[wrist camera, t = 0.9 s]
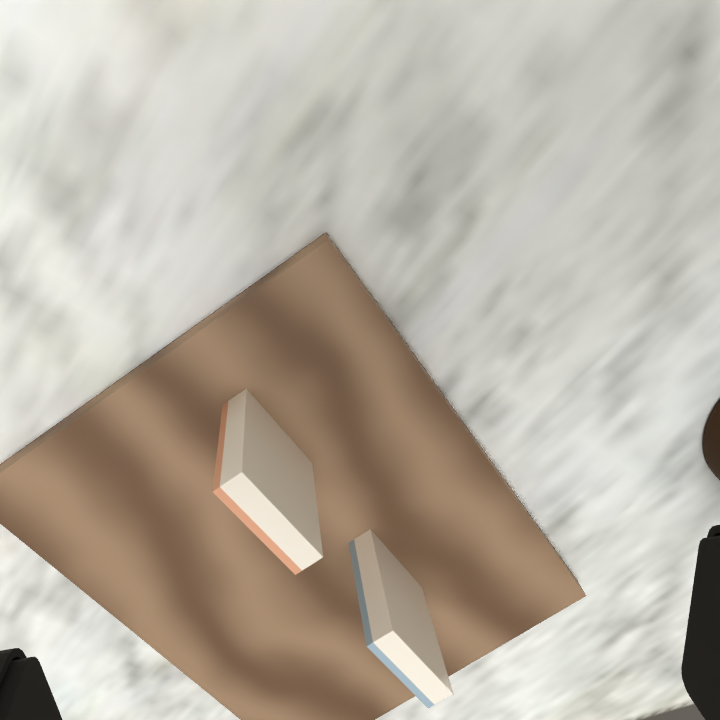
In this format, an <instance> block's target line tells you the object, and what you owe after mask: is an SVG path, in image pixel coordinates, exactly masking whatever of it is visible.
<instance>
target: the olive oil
mask: <svg viewBox="0 0 720 720" xmlns="http://www.w3.org/2000/svg"><path fill="white" fill-rule="evenodd" d="M703 449H704V455H705V459H706V462H707V464H708V466H709V467H710V469H711V471H712V472H713V473H714V474H715V476H716V477H717V478H718V479H719V480H720V401H719V402H718V404H717V405H716V407H715V408H714V410H713V412H712V414H711V416H710V418H709V420H708V423H707V425H706V429H705V433H704V440H703Z"/></svg>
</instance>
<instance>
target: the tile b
mask: <svg viewBox="0 0 720 720" xmlns="http://www.w3.org/2000/svg"><path fill="white" fill-rule="evenodd" d="M349 547H350V553H351V559H352V565H353V571H354V576H355V582H356V588H357V594H358V600H359V606H360V612H361V617H362V623H363V629H364V635H365V641H366V646H367V647H368V648H369V649H370V650H371V651H372V652H373V653H374V654H375V655H376V656H377V657H378V658H379V659H380V660H381V661H382V662H383V663H384V664H385V665H386V666H387V668H388V669H389V670H390V671H391V672H392V673H393V674H394V675H395V676H396V677H397V678H398V679H399V680H400V681H401V682H402V683H403V684H404V685H405V686H406V687H407V688H408V689H409V690H410V691H411V692H412V693H413V694H414V695H415V696H416V697H417V698H418V699H419V700H420V701H421V702H422V703H423V704H424V705H425V706H426V707H427V708H430V707H431V706H433V705H435V704H437V703H438V702H440V701H442V700H444V699H445V698H447V697H449V696H450V695H452V694H453V691H452V688H451V685H450V681H449V678H448V674H447V671H446V667H445V664H444V661H443V657H442V654H441V650H440V647H439V644H438V640H437V637H436V633H435V630H434V626H433V623H432V620H431V616H430V613H429V609H428V606H427V603H426V599H425V596H424V592H423V589H422V587H421V586H420V585H419V584H418V582H417V581H416V580H415V579H414V578H413V577H412V576H411V574H410V573H409V572H408V571H407V570H406V569H405V568H404V567H403V565H402V564H401V563H400V562H399V561H398V560H397V559H396V557H395V556H394V555H393V554H392V553H391V552H390V551H389V550H388V548H387V547H386V546H385V545H384V544H383V543H382V542H381V540H380V539H379V538H378V537H377V536H376V535H375V534H374V533H373V531H372V530H371V529H370V530H368V531H367V532H365V533H363V534H362V535H360V536H359V537H357V538H356V539H354V540H352V541H351V542H349Z"/></svg>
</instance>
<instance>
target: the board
mask: <svg viewBox="0 0 720 720" xmlns="http://www.w3.org/2000/svg"><path fill="white" fill-rule="evenodd" d="M245 389H247V390H248V391H249V392H250V393H251V394H252V395H253V397H254V398H255V399H256V400H257V401H258V402H259V403H260V404H261V406H262V407H263V408H264V409H265V410H266V411H267V412H268V414H269V415H270V416H271V417H272V418H273V419H274V420H275V421H276V423H277V424H278V425H279V426H280V427H281V428H282V429H283V431H284V432H285V433H286V434H287V435H288V436H289V437H290V438H291V440H292V441H293V442H294V443H295V444H296V445H297V446H298V448H299V449H300V450H301V451H302V452H303V453H304V454H305V455H306V457H307V458H308V459H309V460H310V461H311V462H312V465H313V474H314V482H315V491H316V500H317V508H318V517H319V526H320V534H321V543H322V551H323V558H321V559H320V560H318V561H317V562H315V563H313V564H312V565H310V566H309V567H307V568H306V569H304V570H302V571H301V572H299V573H298V574H296V575H295V574H294V573H293V572H292V571H291V570H290V569H289V568H288V567H287V566H286V565H285V564H284V563H283V562H282V561H281V560H280V559H279V558H278V557H277V556H276V555H275V554H274V553H273V552H272V551H271V550H270V549H269V548H268V547H267V546H266V545H265V544H264V543H263V542H262V541H261V540H260V539H259V538H258V537H257V536H256V535H255V534H254V533H253V532H252V531H251V530H250V529H249V528H248V527H247V526H246V525H245V524H244V523H243V522H242V521H241V520H240V519H239V518H238V517H237V516H236V515H235V514H234V513H233V512H232V511H231V510H230V509H229V508H228V507H227V506H226V505H225V504H224V503H223V502H222V501H221V500H220V499H219V498H218V497H217V496H216V495H215V494H214V493H213V492H212V491H213V482H214V474H215V465H216V457H217V448H218V440H219V431H220V423H221V414H222V406H223V404H225V403H226V402H227V401H229V400H230V399H232V398H233V397H235V396H236V395H238V394H239V393H241V392H242V391H243V390H245ZM0 524H1V525H3V526H4V527H5V528H6V529H8V530H9V531H10V532H11V533H13V534H14V535H15V536H16V537H17V538H19V539H20V540H21V541H22V542H24V543H25V544H26V545H27V546H28V547H30V548H31V549H32V550H33V551H35V552H36V553H37V554H38V555H39V556H41V557H42V558H43V559H44V560H46V561H47V562H48V563H49V564H51V565H52V566H53V567H54V568H55V569H57V570H58V571H59V572H60V573H62V574H63V575H64V576H65V577H66V578H68V579H69V580H70V581H71V582H73V583H74V584H75V585H76V586H77V587H79V588H80V589H81V590H82V591H84V592H85V593H86V594H87V595H89V596H90V597H91V598H92V599H93V600H95V601H96V602H97V603H98V604H100V605H101V606H102V607H103V608H104V609H106V610H107V611H108V612H109V613H111V614H112V615H113V616H114V617H116V618H117V619H118V620H119V621H120V622H122V623H123V624H124V625H125V626H127V627H128V628H129V629H130V630H131V631H133V632H134V633H135V634H136V635H138V636H139V637H140V638H141V639H142V640H144V641H145V642H146V643H147V644H149V645H150V646H151V647H152V648H154V649H155V650H156V651H157V652H158V653H160V654H161V655H162V656H163V657H165V658H166V659H167V660H168V661H169V662H171V663H172V664H173V665H174V666H176V667H177V668H178V669H179V670H180V671H182V672H183V673H184V674H185V675H187V676H188V677H189V678H190V679H192V680H193V681H194V682H195V683H196V684H198V685H199V686H200V687H201V688H203V689H204V690H205V691H206V692H207V693H209V694H210V695H211V696H212V697H214V698H215V699H216V700H217V701H218V702H220V703H221V704H222V705H223V706H225V707H226V708H227V709H228V710H230V711H231V712H232V713H233V714H234V715H236V716H237V717H238V718H239V719H241V720H375V719H377V718H378V717H380V716H382V715H384V714H385V713H387V712H389V711H390V710H392V709H394V708H396V707H397V706H399V705H401V704H402V703H404V702H406V701H407V700H409V699H411V698H413V697H414V696H415V695H414V694H413V693H412V692H411V691H410V690H409V689H408V688H407V687H406V686H405V685H404V684H403V683H402V682H401V681H400V680H399V679H398V678H397V677H396V676H395V675H394V674H393V673H392V672H391V671H390V670H389V669H388V668H387V666H386V665H385V664H384V663H383V662H382V661H381V660H380V659H379V658H378V657H377V656H376V655H375V654H374V653H373V652H372V651H371V650H370V649H369V648H368V647H367V646H366V641H365V635H364V629H363V623H362V617H361V612H360V606H359V600H358V594H357V588H356V582H355V576H354V571H353V565H352V559H351V553H350V547H349V542H351V541H352V540H354V539H356V538H357V537H359V536H360V535H362V534H363V533H365V532H367V531H368V530H370V529H371V530H372V531H373V533H374V534H375V535H376V536H377V537H378V538H379V539H380V540H381V542H382V543H383V544H384V545H385V546H386V547H387V548H388V550H389V551H390V552H391V553H392V554H393V555H394V556H395V557H396V559H397V560H398V561H399V562H400V563H401V564H402V565H403V567H404V568H405V569H406V570H407V571H408V572H409V573H410V574H411V576H412V577H413V578H414V579H415V580H416V581H417V582H418V584H419V585H420V586H421V587H422V589H423V592H424V596H425V599H426V603H427V606H428V609H429V613H430V616H431V620H432V623H433V626H434V630H435V633H436V637H437V640H438V644H439V647H440V650H441V654H442V657H443V661H444V664H445V667H446V671H447V674H448V676H450V675H452V674H454V673H455V672H457V671H459V670H460V669H462V668H464V667H466V666H467V665H469V664H471V663H472V662H474V661H476V660H477V659H479V658H481V657H483V656H484V655H486V654H488V653H489V652H491V651H493V650H495V649H496V648H498V647H500V646H501V645H503V644H505V643H506V642H508V641H510V640H512V639H513V638H515V637H517V636H518V635H520V634H522V633H524V632H525V631H527V630H529V629H530V628H532V627H534V626H535V625H537V624H539V623H541V622H542V621H544V620H546V619H547V618H549V617H551V616H553V615H554V614H556V613H558V612H559V611H561V610H563V609H564V608H566V607H568V606H570V605H571V604H573V603H575V602H576V601H578V600H580V599H582V598H583V597H585V596H586V595H585V593H584V591H583V590H582V588H581V586H580V584H579V583H578V581H577V580H576V578H575V577H574V575H573V574H572V573H571V571H570V570H569V568H568V567H567V566H566V564H565V563H564V561H563V560H562V559H561V557H560V556H559V555H558V553H557V552H556V550H555V549H554V548H553V546H552V545H551V543H550V542H549V541H548V539H547V538H546V537H545V535H544V534H543V532H542V531H541V530H540V528H539V527H538V525H537V524H536V523H535V521H534V520H533V519H532V517H531V516H530V514H529V513H528V512H527V510H526V509H525V507H524V506H523V505H522V503H521V502H520V501H519V499H518V498H517V496H516V495H515V494H514V492H513V491H512V489H511V488H510V487H509V485H508V484H507V483H506V481H505V480H504V478H503V477H502V476H501V474H500V473H499V471H498V470H497V469H496V467H495V466H494V465H493V463H492V462H491V460H490V459H489V458H488V456H487V455H486V453H485V452H484V451H483V449H482V448H481V446H480V445H479V444H478V442H477V441H476V440H475V438H474V437H473V435H472V434H471V433H470V431H469V430H468V428H467V427H466V426H465V424H464V423H463V422H462V420H461V419H460V417H459V416H458V415H457V413H456V412H455V410H454V409H453V408H452V406H451V405H450V404H449V402H448V401H447V399H446V398H445V397H444V395H443V394H442V392H441V391H440V390H439V388H438V387H437V386H436V384H435V383H434V381H433V380H432V379H431V377H430V376H429V374H428V373H427V372H426V370H425V369H424V368H423V366H422V365H421V363H420V362H419V361H418V359H417V358H416V356H415V355H414V354H413V352H412V351H411V350H410V348H409V347H408V345H407V344H406V343H405V341H404V340H403V338H402V337H401V336H400V334H399V333H398V331H397V330H396V329H395V327H394V326H393V325H392V323H391V322H390V320H389V319H388V318H387V316H386V315H385V313H384V312H383V311H382V309H381V308H380V307H379V305H378V304H377V302H376V301H375V300H374V298H373V297H372V295H371V294H370V293H369V291H368V290H367V289H366V287H365V286H364V284H363V283H362V282H361V280H360V279H359V277H358V276H357V275H356V273H355V272H354V271H353V269H352V268H351V266H350V265H349V264H348V262H347V261H346V259H345V258H344V257H343V255H342V254H341V253H340V251H339V250H338V248H337V247H336V246H335V244H334V243H333V241H332V240H331V239H330V237H329V236H328V234H327V233H325V234H323V235H322V236H320V237H319V238H318V239H316V240H315V241H313V242H312V243H311V244H309V245H308V246H306V247H305V248H303V249H302V250H301V251H299V252H298V253H296V254H295V255H294V256H292V257H291V258H289V259H288V260H287V261H285V262H284V263H282V264H281V265H280V266H278V267H277V268H275V269H274V270H273V271H271V272H270V273H268V274H267V275H266V276H264V277H263V278H261V279H260V280H259V281H257V282H256V283H254V284H253V285H252V286H250V287H249V288H247V289H246V290H245V291H243V292H242V293H240V294H239V295H238V296H236V297H235V298H233V299H232V300H230V301H229V302H228V303H226V304H225V305H223V306H222V307H221V308H219V309H218V310H216V311H215V312H214V313H212V314H211V315H209V316H208V317H207V318H205V319H204V320H202V321H201V322H200V323H198V324H197V325H195V326H194V327H193V328H191V329H190V330H188V331H187V332H186V333H184V334H183V335H181V336H180V337H179V338H177V339H176V340H174V341H173V342H172V343H170V344H169V345H167V346H166V347H165V348H163V349H162V350H160V351H159V352H158V353H156V354H155V355H153V356H152V357H150V358H149V359H148V360H146V361H145V362H143V363H142V364H141V365H139V366H138V367H136V368H135V369H134V370H132V371H131V372H129V373H128V374H127V375H125V376H124V377H122V378H121V379H120V380H118V381H117V382H115V383H114V384H113V385H111V386H110V387H108V388H107V389H106V390H104V391H103V392H101V393H100V394H99V395H97V396H96V397H94V398H93V399H92V400H90V401H89V402H87V403H86V404H85V405H83V406H82V407H80V408H79V409H78V410H76V411H75V412H73V413H72V414H70V415H69V416H68V417H66V418H65V419H63V420H62V421H61V422H59V423H58V424H56V425H55V426H54V427H52V428H51V429H49V430H48V431H47V432H45V433H44V434H42V435H41V436H40V437H38V438H37V439H35V440H34V441H33V442H31V443H30V444H28V445H27V446H26V447H24V448H23V449H21V450H20V451H19V452H17V453H16V454H14V455H13V456H12V457H10V458H9V459H7V460H6V461H5V462H3V463H2V464H0Z"/></svg>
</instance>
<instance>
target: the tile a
mask: <svg viewBox="0 0 720 720" xmlns="http://www.w3.org/2000/svg"><path fill="white" fill-rule="evenodd" d="M212 492H213V493H214V494H215V495H216V496H217V497H218V498H219V499H220V500H221V501H222V502H223V503H224V504H225V505H226V506H227V507H228V508H229V509H230V510H231V511H232V512H233V513H234V514H235V515H236V516H237V517H238V518H239V519H240V520H241V521H242V522H243V523H244V524H245V525H246V526H247V527H248V528H249V529H250V530H251V531H252V532H253V533H254V534H255V535H256V536H257V537H258V538H259V539H260V540H261V541H262V542H263V543H264V544H265V545H266V546H267V547H268V548H269V549H270V550H271V551H272V552H273V553H274V554H275V555H276V556H277V557H278V558H279V559H280V560H281V561H282V562H283V563H284V564H285V565H286V566H287V567H288V568H289V569H290V570H291V571H292V572H293V573H294V574H295V575H296V574H298V573H299V572H301V571H302V570H304V569H306V568H307V567H309V566H310V565H312V564H313V563H315V562H317V561H318V560H320V559H321V558H323V551H322V543H321V534H320V526H319V517H318V508H317V500H316V491H315V482H314V474H313V465H312V462H311V461H310V460H309V459H308V458H307V457H306V455H305V454H304V453H303V452H302V451H301V450H300V449H299V448H298V446H297V445H296V444H295V443H294V442H293V441H292V440H291V438H290V437H289V436H288V435H287V434H286V433H285V432H284V431H283V429H282V428H281V427H280V426H279V425H278V424H277V423H276V421H275V420H274V419H273V418H272V417H271V416H270V415H269V414H268V412H267V411H266V410H265V409H264V408H263V407H262V406H261V404H260V403H259V402H258V401H257V400H256V399H255V398H254V397H253V395H252V394H251V393H250V392H249V391H248V390H247V389H245V390H243V391H242V392H241V393H239V394H238V395H236V396H235V397H233V398H232V399H230V400H229V401H227V402H226V403H225V404H223V406H222V414H221V423H220V431H219V440H218V448H217V457H216V465H215V474H214V482H213V491H212Z"/></svg>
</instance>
